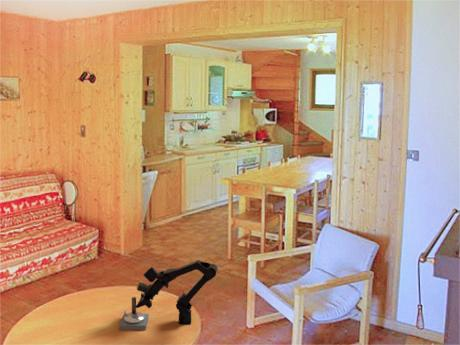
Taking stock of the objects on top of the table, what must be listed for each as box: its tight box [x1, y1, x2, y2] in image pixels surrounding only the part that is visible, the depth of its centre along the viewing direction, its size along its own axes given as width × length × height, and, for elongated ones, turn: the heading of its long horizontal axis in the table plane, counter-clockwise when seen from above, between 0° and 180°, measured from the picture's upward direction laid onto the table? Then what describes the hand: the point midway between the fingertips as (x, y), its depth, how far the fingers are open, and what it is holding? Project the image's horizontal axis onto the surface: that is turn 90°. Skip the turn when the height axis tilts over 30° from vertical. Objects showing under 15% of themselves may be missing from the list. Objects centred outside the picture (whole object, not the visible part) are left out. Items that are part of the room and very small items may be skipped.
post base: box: [118, 308, 150, 331], centre depth 275 cm, size 14×14×6 cm
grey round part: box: [124, 296, 145, 324], centre depth 275 cm, size 11×13×10 cm
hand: (136, 307), depth 278 cm, fingers closed, pressing on grey round part
